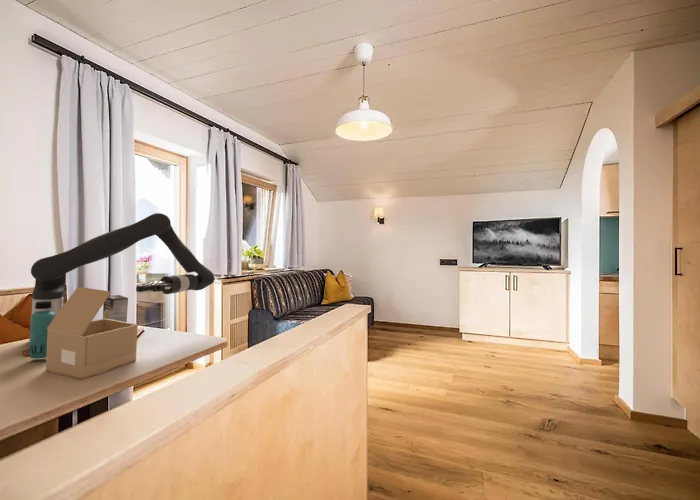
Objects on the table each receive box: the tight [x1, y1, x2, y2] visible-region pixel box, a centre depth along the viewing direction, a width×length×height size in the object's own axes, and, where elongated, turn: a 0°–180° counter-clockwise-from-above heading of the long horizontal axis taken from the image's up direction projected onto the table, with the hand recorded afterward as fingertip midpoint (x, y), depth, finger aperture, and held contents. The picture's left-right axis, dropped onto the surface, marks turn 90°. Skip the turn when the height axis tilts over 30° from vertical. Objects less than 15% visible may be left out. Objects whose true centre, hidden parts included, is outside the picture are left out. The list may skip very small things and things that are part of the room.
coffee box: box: [102, 294, 129, 322], centre depth 150 cm, size 9×6×16 cm
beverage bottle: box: [28, 301, 55, 360], centre depth 115 cm, size 6×7×20 cm
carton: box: [45, 318, 138, 381], centre depth 113 cm, size 17×18×13 cm
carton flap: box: [47, 286, 112, 336], centre depth 108 cm, size 15×15×1 cm
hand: (137, 289), depth 127 cm, fingers closed
